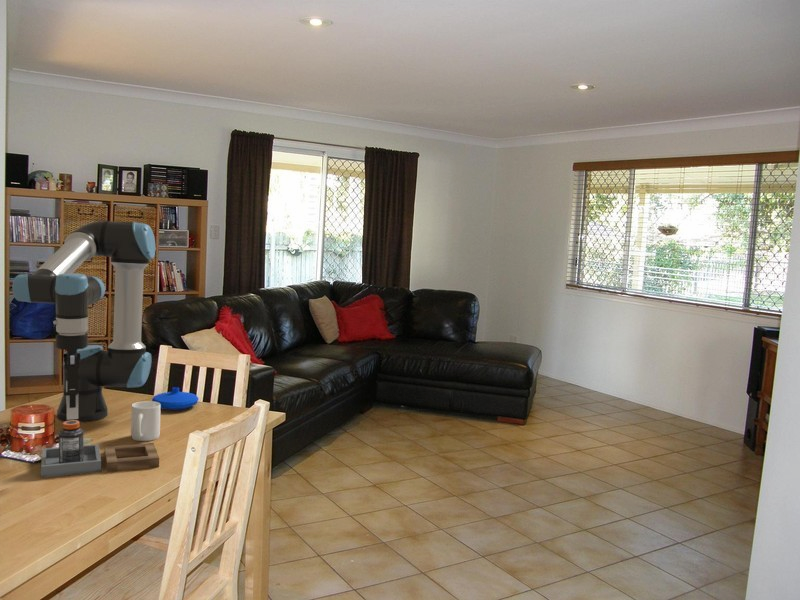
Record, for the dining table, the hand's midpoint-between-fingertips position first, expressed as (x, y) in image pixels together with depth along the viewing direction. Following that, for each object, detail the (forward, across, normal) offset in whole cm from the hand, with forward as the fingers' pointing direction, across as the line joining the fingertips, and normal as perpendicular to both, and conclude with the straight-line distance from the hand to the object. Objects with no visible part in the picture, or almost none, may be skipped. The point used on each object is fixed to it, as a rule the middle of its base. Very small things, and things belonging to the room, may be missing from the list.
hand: (72, 411), depth 181 cm
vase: (+16, -49, +34) cm, 62 cm away
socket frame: (+15, 0, +15) cm, 21 cm away
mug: (+16, -16, +20) cm, 30 cm away
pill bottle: (+14, +1, 0) cm, 14 cm away
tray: (+15, +1, 0) cm, 15 cm away
